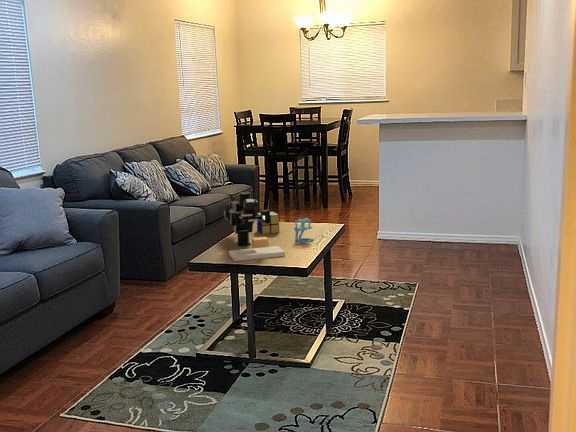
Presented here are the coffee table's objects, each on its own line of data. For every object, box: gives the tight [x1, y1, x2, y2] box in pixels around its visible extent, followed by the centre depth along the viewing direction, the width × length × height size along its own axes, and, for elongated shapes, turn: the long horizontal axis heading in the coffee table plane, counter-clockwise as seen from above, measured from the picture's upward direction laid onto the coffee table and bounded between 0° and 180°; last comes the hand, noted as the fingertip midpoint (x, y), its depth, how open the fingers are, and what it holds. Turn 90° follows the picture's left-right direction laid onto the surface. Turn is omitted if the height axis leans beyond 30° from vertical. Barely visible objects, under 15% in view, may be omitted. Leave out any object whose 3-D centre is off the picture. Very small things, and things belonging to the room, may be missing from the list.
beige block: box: [251, 236, 270, 249], centre depth 310 cm, size 5×7×5 cm
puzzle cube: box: [256, 211, 280, 235], centre depth 345 cm, size 10×10×10 cm
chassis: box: [228, 245, 286, 262], centre depth 296 cm, size 12×24×2 cm, turn 107°
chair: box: [293, 217, 315, 244], centre depth 321 cm, size 8×8×12 cm
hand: (254, 221), depth 292 cm, fingers open, 9 cm apart
